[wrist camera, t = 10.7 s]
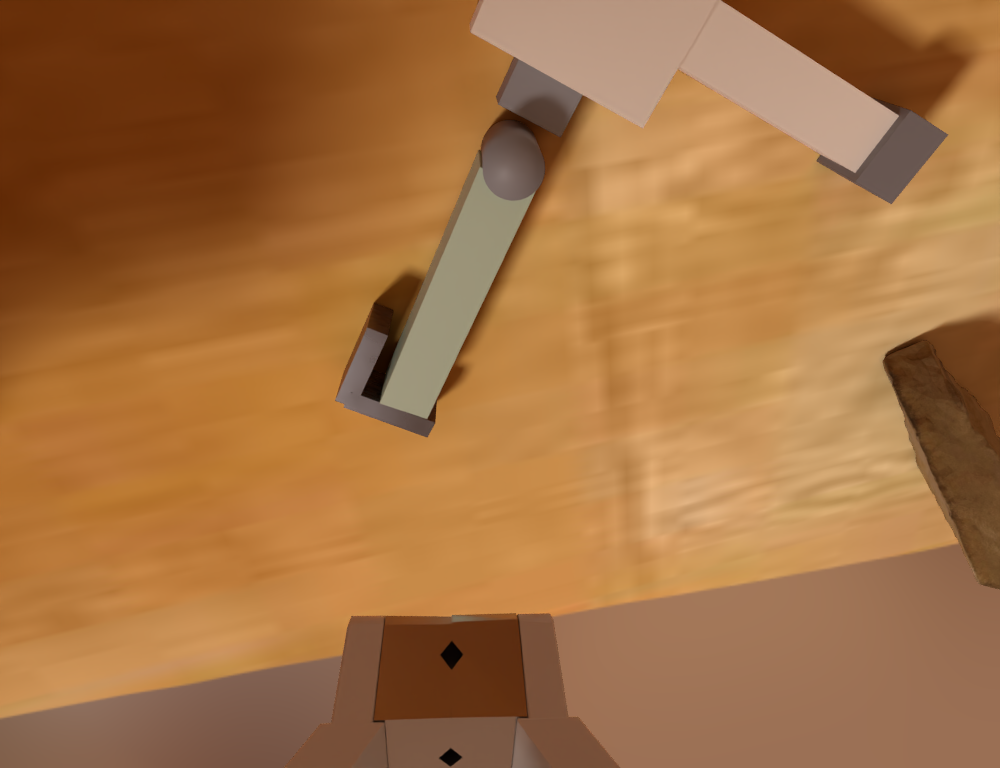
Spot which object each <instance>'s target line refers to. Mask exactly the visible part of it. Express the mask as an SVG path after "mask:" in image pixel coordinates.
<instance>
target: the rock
mask: <svg viewBox="0 0 1000 768" xmlns="http://www.w3.org/2000/svg"><path fill="white" fill-rule="evenodd" d="M883 365H884V369H885V371H886V373H887V376H888V378H889V380H890V382H891V384H892V387H893V389H894V391H895V393H896V396H897V399H898V402H899V405H900V407H901V409H902V411H903V414H904V417H905V421H904V422H905V426H906V428H907V430H908V433H909V440H910V442H911V443H912V446H913V449H914V451H915V453H916V463H917V465H918V467H919V469H920V471H921V473H922V474H923V476H924V478H925V480H926V482H927V484H928V486H929V488H930V490H931V492H932V493H933V494H934V495H935V498H936V501H937V503H938V505H939V506H940V508H941V510H942V512H943V514H944V516H945V519H946V521H947V522H948V523H949V525H950V526H951V528H952V530H953V532H954V535H955V537H956V538H957V539H958V542H959V544H960V546H961V548H962V551H963V554H964V556H965V557H966V559H967V561H968V564H969V566H970V567H971V570H972V572H973V575H974V577H975V579H976V581H977V582H978V583H979V584H981V585H984V586H988V587H992V588H996V589H1000V438H999V437H998V436H997V435H996V433H995V430H994V427H993V423H992V421H991V418H990V416H989V414H988V413H987V412H986V411H984V410H983V409H982V408H981V407H980V406H979V404H978V403H977V400H976V399H975V397H974V396H971V395H970V394H969V393H968V391H967V390H966V389H965V388H961V387H960V386H959V385H958V384H957V383H956V381H955V379H954V377H953V376H951V375H950V374H949V373H948V372H947V371H946V370H945V369H944V367H943V365H942V363H941V361H940V360H939V359H938V358H937V356H936V350H935V349H934V347H933V345H931V344H930V343H929V342H928V341H926V340H923V341H920V342H917V343H916V344H913V345H911V346H909V347H907V348H904V349H901V350H898V351H895V352H893V353H892V354H890V355H888V356H886V357H885V358H884V360H883Z"/></svg>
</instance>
